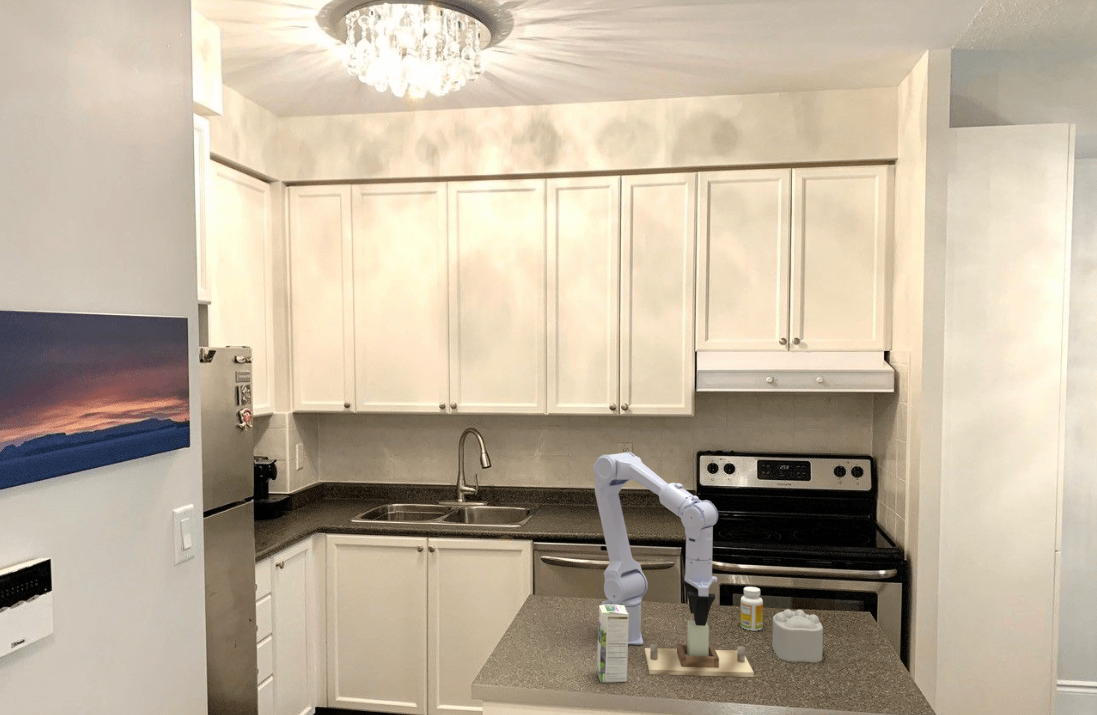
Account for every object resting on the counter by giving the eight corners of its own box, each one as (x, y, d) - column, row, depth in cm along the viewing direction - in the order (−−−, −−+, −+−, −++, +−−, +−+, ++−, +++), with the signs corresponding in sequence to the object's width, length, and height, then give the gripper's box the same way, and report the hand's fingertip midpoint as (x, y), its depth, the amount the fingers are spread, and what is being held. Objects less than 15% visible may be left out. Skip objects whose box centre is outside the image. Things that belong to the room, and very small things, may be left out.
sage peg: (689, 663, 171) (690, 626, 171) (687, 656, 175) (687, 620, 175) (708, 663, 171) (708, 627, 170) (705, 656, 175) (705, 620, 174)
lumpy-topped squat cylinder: (778, 661, 175) (779, 622, 175) (767, 639, 188) (768, 603, 188) (826, 663, 174) (827, 624, 174) (812, 641, 187) (812, 605, 187)
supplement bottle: (760, 624, 198) (761, 586, 198) (764, 632, 193) (764, 592, 193) (738, 623, 199) (739, 585, 199) (741, 630, 194) (742, 591, 193)
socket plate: (649, 674, 167) (649, 655, 167) (644, 652, 179) (645, 634, 179) (753, 677, 166) (754, 658, 166) (742, 655, 178) (742, 637, 178)
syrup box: (596, 671, 168) (597, 604, 168) (623, 671, 169) (624, 603, 168) (600, 683, 162) (601, 613, 162) (628, 682, 163) (629, 612, 163)
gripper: (723, 567, 165) (722, 631, 165) (711, 549, 179) (710, 608, 180) (689, 566, 165) (688, 630, 165) (680, 548, 180) (679, 607, 180)
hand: (697, 618), depth 173 cm, fingers open, 7 cm apart
